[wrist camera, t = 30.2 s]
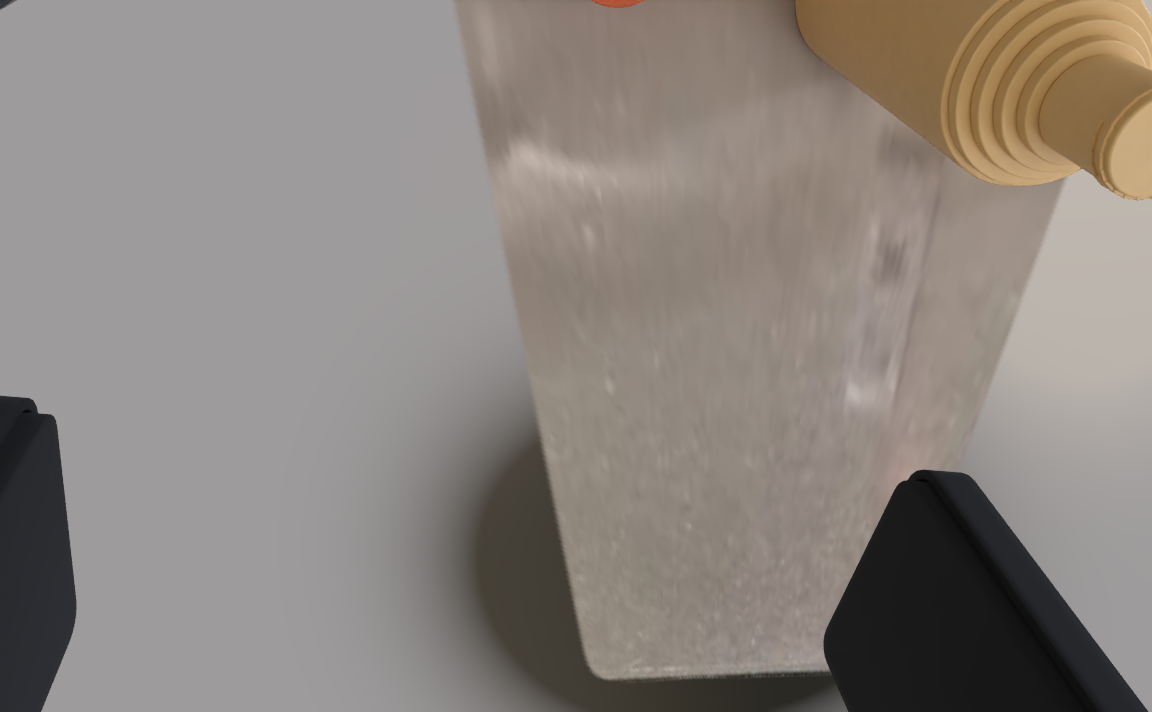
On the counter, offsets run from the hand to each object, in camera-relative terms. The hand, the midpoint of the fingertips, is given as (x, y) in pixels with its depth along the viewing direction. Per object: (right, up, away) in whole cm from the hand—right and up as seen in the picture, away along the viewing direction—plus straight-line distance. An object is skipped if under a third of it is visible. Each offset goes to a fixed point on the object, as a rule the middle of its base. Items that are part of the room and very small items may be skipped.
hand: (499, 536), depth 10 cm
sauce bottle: (+13, +17, +27) cm, 35 cm away
